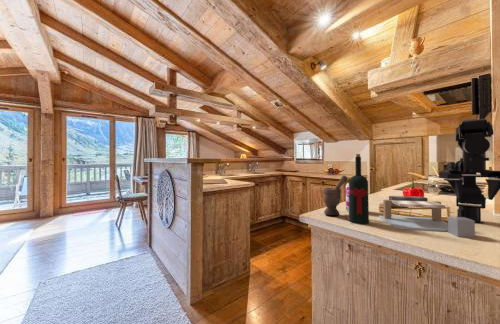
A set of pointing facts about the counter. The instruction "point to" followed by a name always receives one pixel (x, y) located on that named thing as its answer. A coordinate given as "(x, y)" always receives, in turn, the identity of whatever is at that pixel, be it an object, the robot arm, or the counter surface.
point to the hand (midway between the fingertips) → (474, 199)
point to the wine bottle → (358, 196)
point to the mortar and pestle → (333, 197)
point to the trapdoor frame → (414, 220)
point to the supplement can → (347, 197)
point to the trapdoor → (413, 202)
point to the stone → (461, 227)
